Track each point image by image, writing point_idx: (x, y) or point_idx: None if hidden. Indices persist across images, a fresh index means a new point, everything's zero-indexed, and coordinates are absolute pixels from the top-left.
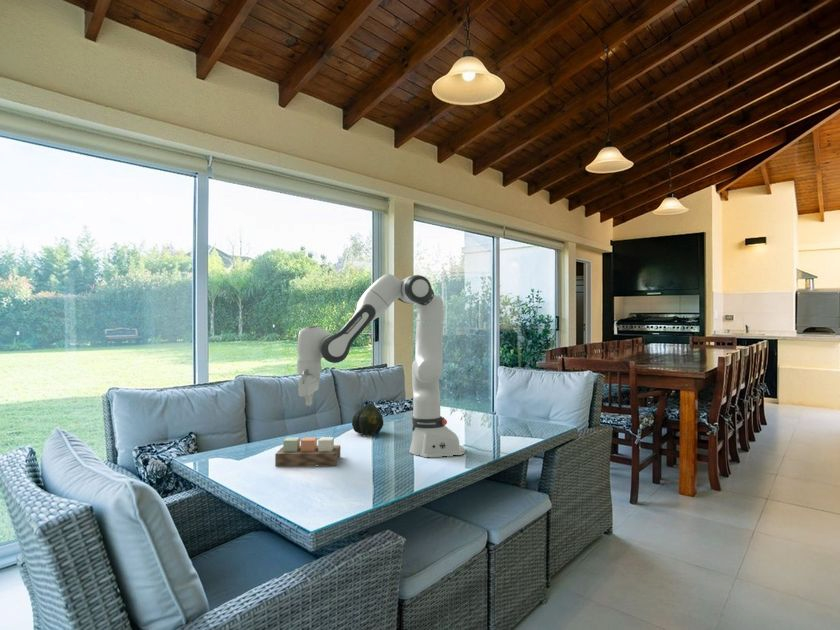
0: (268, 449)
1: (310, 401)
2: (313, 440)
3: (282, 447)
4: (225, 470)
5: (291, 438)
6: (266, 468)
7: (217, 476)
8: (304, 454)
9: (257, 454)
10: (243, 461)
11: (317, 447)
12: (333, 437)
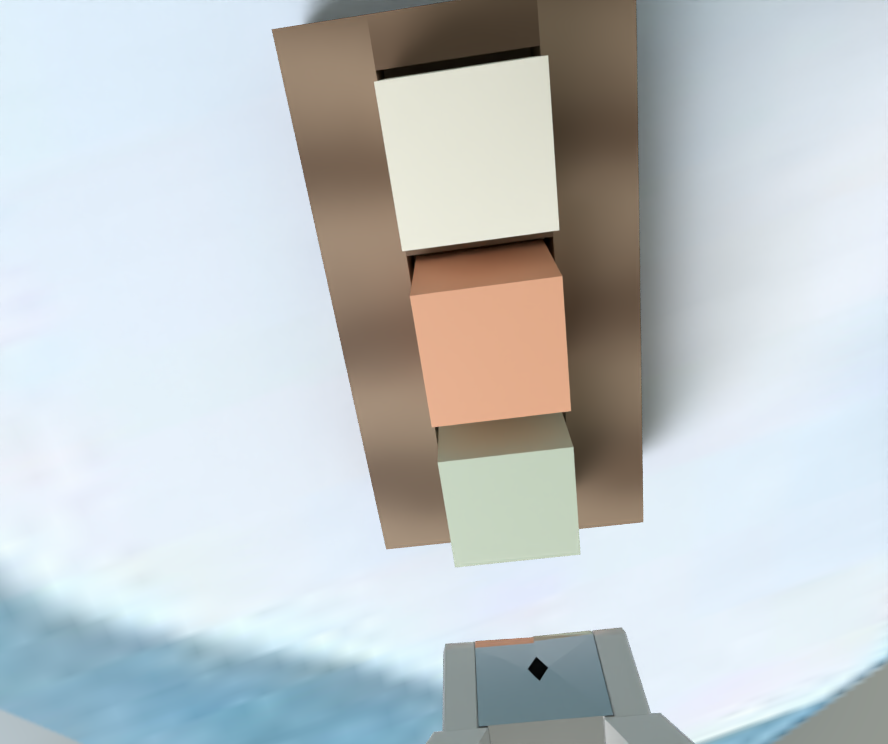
0: (226, 643)
1: (647, 703)
2: (561, 284)
3: (445, 540)
4: (702, 679)
5: (492, 518)
6: (669, 500)
7: (814, 670)
8: (637, 302)
9: (356, 656)
10: None
11: (404, 260)
12: (389, 82)
